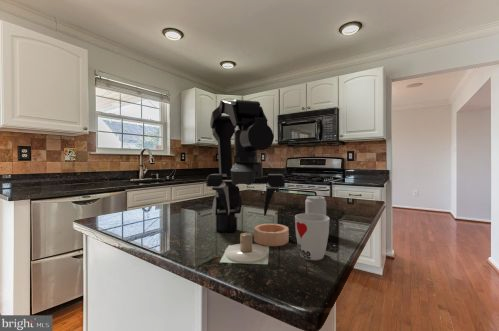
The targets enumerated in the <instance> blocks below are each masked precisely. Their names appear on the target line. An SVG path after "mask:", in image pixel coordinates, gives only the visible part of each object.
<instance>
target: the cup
mask: <svg viewBox="0 0 499 331" xmlns="http://www.w3.org/2000/svg"><path fill="white" fill-rule="evenodd" d="M330 220H331V219H330V217H329V216H328V215H326V216H325V215H321V214H313V213H305V212H304V213H298V214H295V215H294V221H295V222H294V223H295V224H294V226H295V236H296V241H297V247H298V251H299V254H300V257H301V258H303V259H305V260H308V261H309V260H310V261H319V260H322V259H323V258H324V256H325V253H326V251H327V250H326V249H327V245H328V239H329V235H330V234H329V232H330V231H329V230H330Z"/></svg>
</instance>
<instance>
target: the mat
mask: <svg viewBox="0 0 499 331" xmlns="http://www.w3.org/2000/svg"><path fill="white" fill-rule="evenodd" d="M232 245H233V244H232ZM232 245H231V244H229V245H228V246H227V247H226V249H227V248H228V247H230V246H232ZM262 246H263V247H265V248H266V249H267V256H266V258H264V259H262V260H260V261H256V262H248V263H243V262H235V261H232V260H230V259H228V258H227V257H226V256H225V252H224V253H223V255H222V257H220V258H221V259H220V260H219V263H226V264H227V263H228V264H250V265H268V264H269V252H270V246H265V245H262Z"/></svg>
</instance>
